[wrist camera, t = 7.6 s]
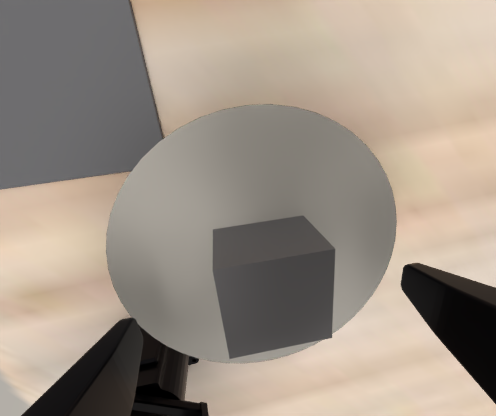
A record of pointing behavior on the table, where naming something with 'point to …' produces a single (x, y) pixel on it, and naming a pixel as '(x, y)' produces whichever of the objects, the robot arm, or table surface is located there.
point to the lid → (251, 233)
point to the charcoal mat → (72, 91)
